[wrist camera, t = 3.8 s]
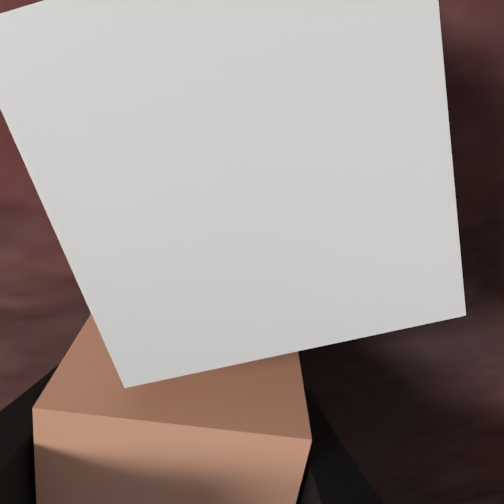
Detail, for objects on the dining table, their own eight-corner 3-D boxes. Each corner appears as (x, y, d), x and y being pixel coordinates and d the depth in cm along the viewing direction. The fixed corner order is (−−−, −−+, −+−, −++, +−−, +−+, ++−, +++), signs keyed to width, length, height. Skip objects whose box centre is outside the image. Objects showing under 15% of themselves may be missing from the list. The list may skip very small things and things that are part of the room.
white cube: (376, 207, 11) (466, 315, 6) (175, 256, 12) (124, 388, 7) (339, -29, 9) (427, -114, 5) (100, 40, 10) (-37, 25, 5)
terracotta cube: (263, 440, 13) (268, 610, 9) (106, 422, 13) (39, 589, 9) (290, 305, 12) (312, 439, 8) (111, 281, 12) (32, 407, 7)
